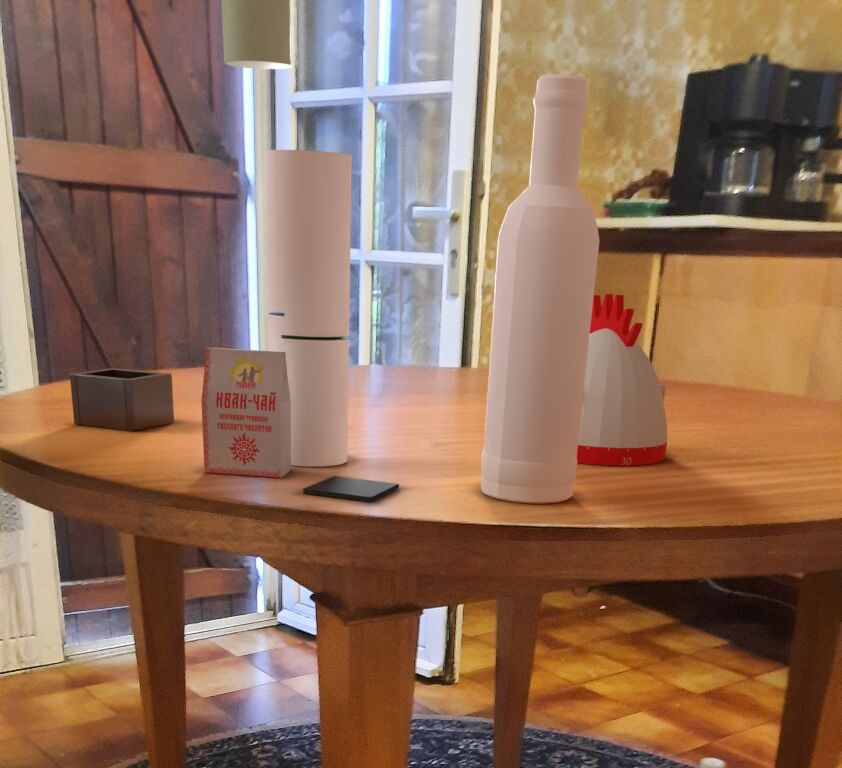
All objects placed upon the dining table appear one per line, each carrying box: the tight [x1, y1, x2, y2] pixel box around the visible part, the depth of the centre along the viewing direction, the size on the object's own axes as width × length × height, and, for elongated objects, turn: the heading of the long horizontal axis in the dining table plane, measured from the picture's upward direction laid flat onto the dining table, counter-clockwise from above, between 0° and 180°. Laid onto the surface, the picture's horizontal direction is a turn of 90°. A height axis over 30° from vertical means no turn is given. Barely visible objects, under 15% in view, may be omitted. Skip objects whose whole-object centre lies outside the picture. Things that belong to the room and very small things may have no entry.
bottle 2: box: [480, 73, 600, 504], centre depth 84 cm, size 8×8×30 cm
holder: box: [69, 367, 175, 432], centre depth 112 cm, size 7×7×5 cm
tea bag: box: [201, 346, 292, 479], centre depth 91 cm, size 4×7×10 cm, turn 83°
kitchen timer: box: [577, 293, 668, 467], centre depth 107 cm, size 14×14×15 cm
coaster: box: [302, 475, 400, 503], centre depth 88 cm, size 6×6×1 cm
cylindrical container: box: [265, 149, 353, 468], centre depth 94 cm, size 7×7×25 cm
